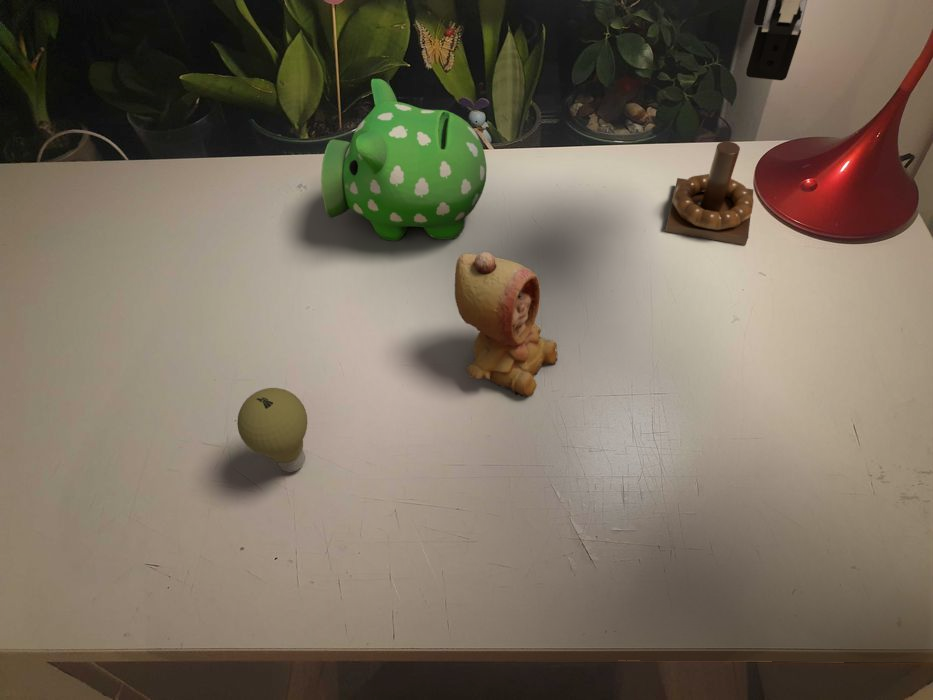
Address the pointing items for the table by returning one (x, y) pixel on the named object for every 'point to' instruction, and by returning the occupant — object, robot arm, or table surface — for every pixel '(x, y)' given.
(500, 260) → the figurine
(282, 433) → the light bulb
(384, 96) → the piggy bank
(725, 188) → the post
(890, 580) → the table surface
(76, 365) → the table surface
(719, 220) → the ring
